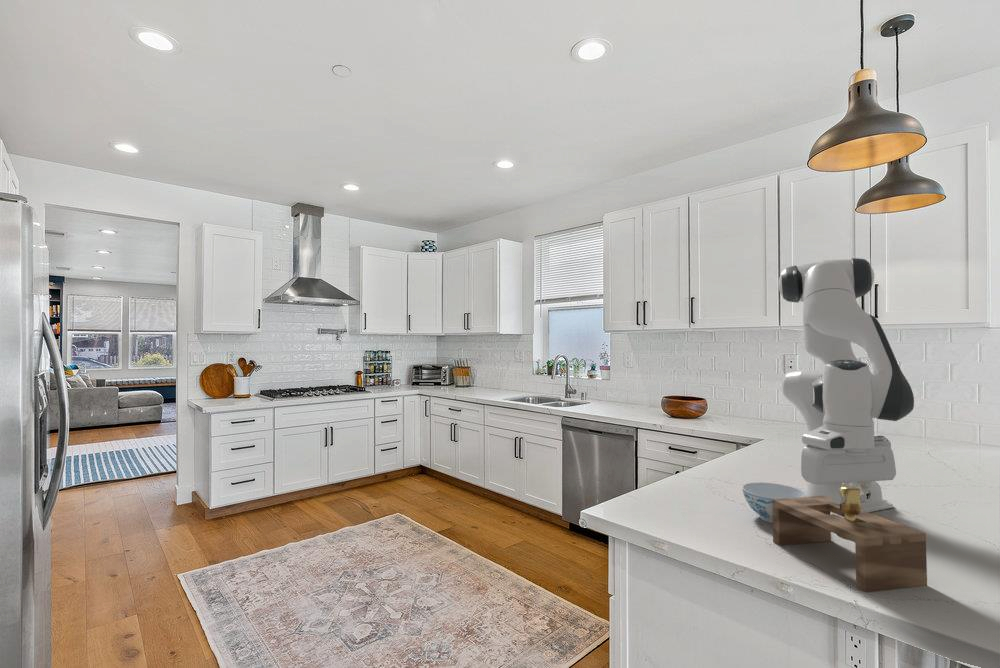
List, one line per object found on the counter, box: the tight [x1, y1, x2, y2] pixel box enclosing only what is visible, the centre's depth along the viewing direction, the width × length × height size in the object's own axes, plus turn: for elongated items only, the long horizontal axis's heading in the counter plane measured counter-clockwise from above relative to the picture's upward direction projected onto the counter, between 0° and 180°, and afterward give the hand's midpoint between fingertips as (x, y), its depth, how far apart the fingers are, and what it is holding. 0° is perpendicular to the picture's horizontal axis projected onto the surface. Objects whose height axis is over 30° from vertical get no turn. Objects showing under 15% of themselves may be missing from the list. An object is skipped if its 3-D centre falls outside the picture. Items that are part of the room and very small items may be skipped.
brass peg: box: [836, 486, 861, 541], centre depth 103 cm, size 5×5×10 cm
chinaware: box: [741, 482, 806, 524], centre depth 130 cm, size 15×15×8 cm
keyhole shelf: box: [772, 496, 928, 593], centre depth 105 cm, size 24×14×10 cm, turn 10°
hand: (849, 502), depth 103 cm, fingers closed on brass peg, 4 cm apart
